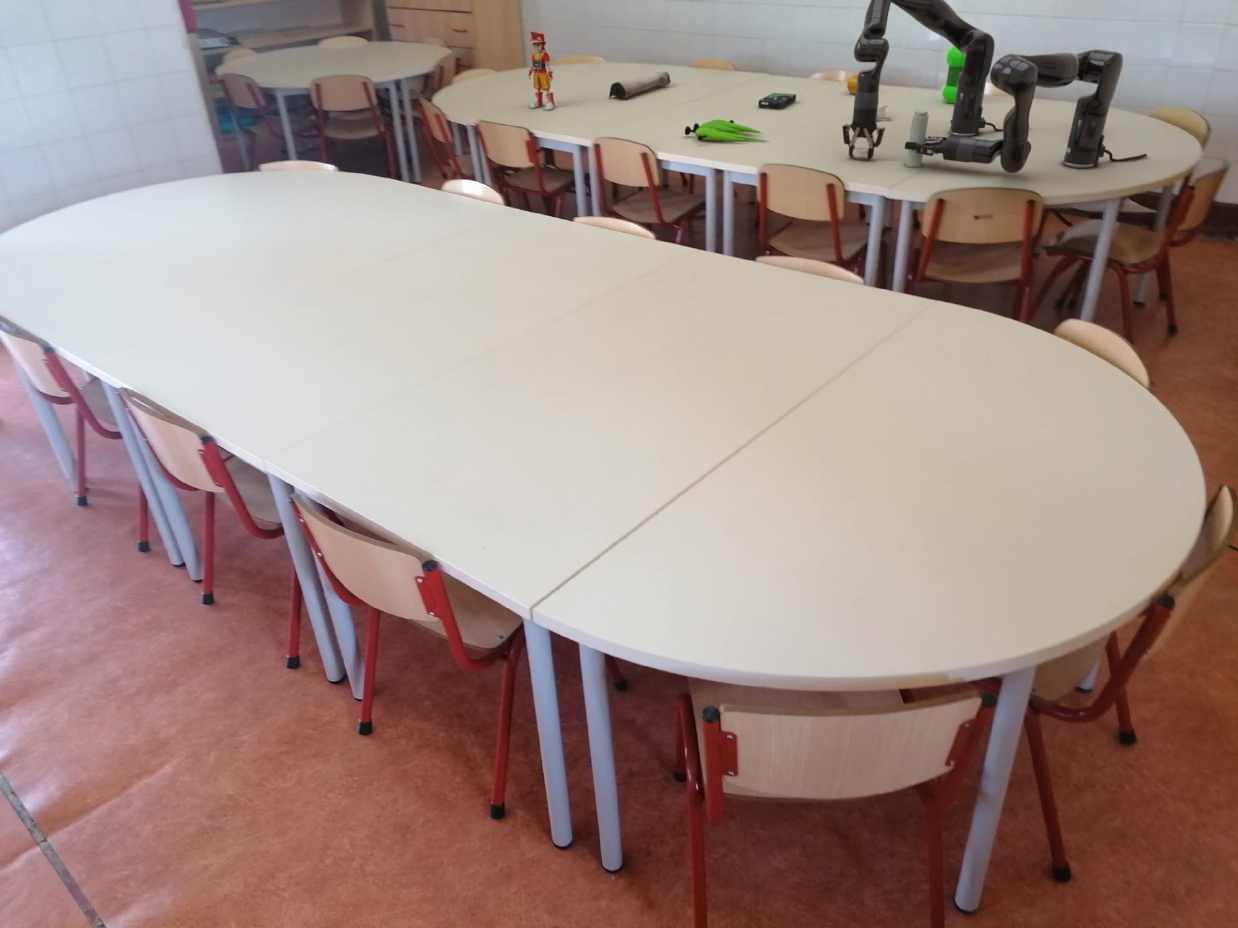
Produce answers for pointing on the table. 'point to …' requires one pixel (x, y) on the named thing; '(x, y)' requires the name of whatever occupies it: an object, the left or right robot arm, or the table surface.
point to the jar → (917, 136)
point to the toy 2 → (721, 131)
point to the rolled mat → (638, 84)
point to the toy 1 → (541, 71)
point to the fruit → (852, 84)
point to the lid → (860, 151)
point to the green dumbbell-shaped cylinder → (953, 73)
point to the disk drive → (777, 100)
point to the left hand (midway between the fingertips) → (860, 158)
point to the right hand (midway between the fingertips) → (908, 143)
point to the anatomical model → (882, 113)
